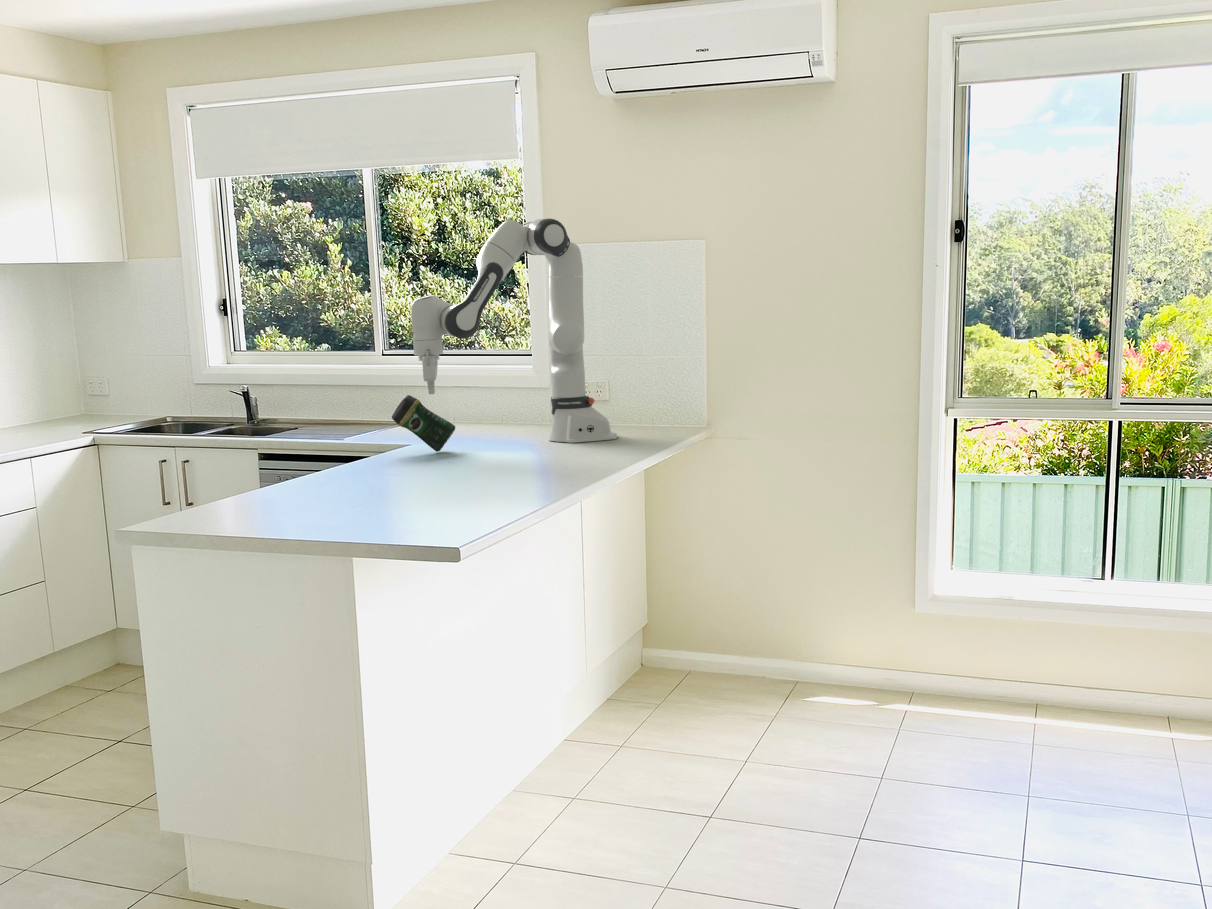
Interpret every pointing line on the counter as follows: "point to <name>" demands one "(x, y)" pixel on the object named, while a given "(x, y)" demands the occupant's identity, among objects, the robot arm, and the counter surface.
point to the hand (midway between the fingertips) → (431, 394)
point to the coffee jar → (423, 423)
